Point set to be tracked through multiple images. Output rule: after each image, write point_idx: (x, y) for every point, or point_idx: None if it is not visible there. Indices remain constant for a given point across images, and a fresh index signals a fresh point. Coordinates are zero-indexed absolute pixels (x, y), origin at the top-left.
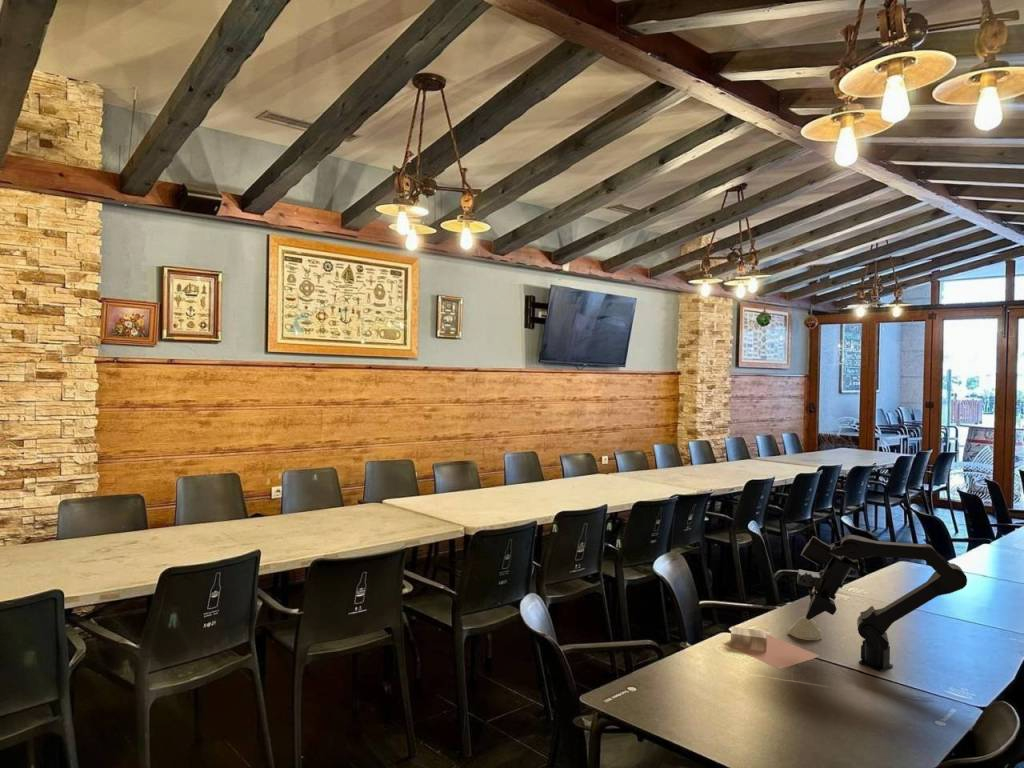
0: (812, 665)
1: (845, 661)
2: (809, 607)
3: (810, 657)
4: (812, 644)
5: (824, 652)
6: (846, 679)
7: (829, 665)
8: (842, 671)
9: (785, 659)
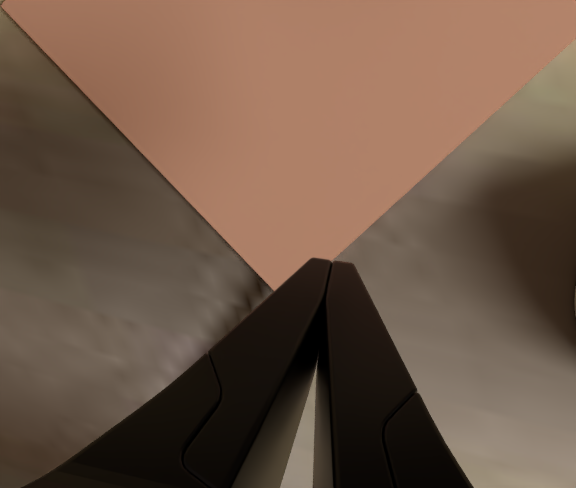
0: (147, 222)
1: None
2: (266, 370)
3: (242, 232)
4: (513, 298)
5: None
6: (19, 362)
7: (178, 321)
8: (115, 370)
9: (160, 60)
